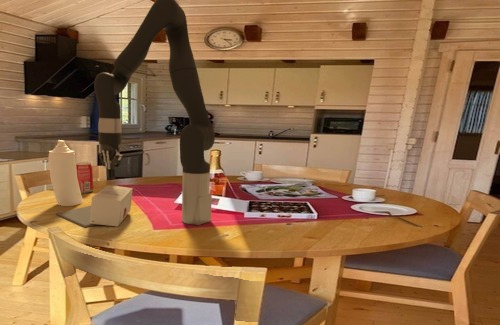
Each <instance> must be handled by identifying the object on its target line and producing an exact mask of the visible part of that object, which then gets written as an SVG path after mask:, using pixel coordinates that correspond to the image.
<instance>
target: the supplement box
mask: <svg viewBox="0 0 500 325" xmlns="http://www.w3.org/2000/svg"><path fill="white" fill-rule="evenodd" d="M133 190H134V189H133V188H132V187H126V186H117V185H111V184H110V185H109V184H108V185H106V186H105V187H103V188H102V189H101V190H99V191H98V192H97V193H96V194H94V195H93V196H92V197H91V205H90V206H91V214H90V223H91V224H98V225H101V226H102V225H103V226H108V227H109V226H110V227H117V228H118V227H119V225H120V224H121V223H122V222H123V221H124V220H125V217H127V216H128V214H130V211H131V208H132V207H131V206H132V200H133Z"/></svg>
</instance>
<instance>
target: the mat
mask: <svg viewBox="0 0 500 325" xmlns="http://www.w3.org/2000/svg"><path fill="white" fill-rule="evenodd" d="M56 214H57V215H56ZM90 214H91V205H88V206H84V207H77V208H72V209H68V210H63V211H59V212H58V211H57V212H55V215H56V216H58V215H59V216H58V217H60V216H61V217H60V218H63V219H66V220H67V221H70V222H72V223H74V224H77V225H79V226H81V227H82V228H89V227H93V226H97V225H99V224H91V223H90ZM126 217H127V216H126ZM126 217H125V218H126ZM125 218H124V219H125Z"/></svg>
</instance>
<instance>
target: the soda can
mask: <svg viewBox="0 0 500 325" xmlns="http://www.w3.org/2000/svg"><path fill="white" fill-rule="evenodd" d="M76 169H77V179H78V183H79V188H80V192H81V194H87V193H88V194H89V193H92V191H93V190H94V179H93V178H94V175H93V172H94V171H93V170H94V169H93V165H92V163H91V162H88V161H87V162H76Z"/></svg>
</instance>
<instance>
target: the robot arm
mask: <svg viewBox="0 0 500 325" xmlns="http://www.w3.org/2000/svg"><path fill="white" fill-rule="evenodd" d="M162 30H163V31H164V33H165V35H166V39H167V42H168V47H169V60H168V70H169V71H168V72H169V76H170V81H171V86H172V89H173V91H174V93H175V95H176V97H177V98H178V100H179V101H180V103H181V105H182V106H183V107H184V108H185V111H186V113H187V116H188V119H189V124H187V125H185V126H184V127H183V128H182V129H181V131H180V134H179V160H180V161H179V162H180V164H181V167H182V188H181V190H182V192H181V193H182V195H181V197H182V198H181V199H182V200H181V222H182V223H184V224H188V225H197V226H200V225H204V224H206V223H208V222H209V223H210V222H212V194H211V193H210V186H211V185H210V184H211V182H210V181H211V164H210V163H209V162H207V161H206V159H205V151H206V152H207V151H209V150H210V149H212V147H214V144H215V140H216V139H215V138H216V137H215V136H216V135H215V132H214V129H213V125H212V123H211V120H210V117H209V114H208V111H207V108H206V103H205V100H204V95H203V91H202V88H201V82H200V77H199V73H198V70H197V65H196V62H195V58H194V54H193V51H192V48H191V44H190V36H189V31H188V22H187V15H186V12H185V11H184V9H183V8H182V7H181V6H180V5H179V3H178V2H177V1H176V0H155V1H154V3H153V4H152V5H151V7H150V9H149V11H148V12H147V13H146V16H144V19H143V21H142V22H141V24H140V25H139V27H138V29H137V31H136V32H135V34H134V35H133V37H132V39H131V40H130V41H129V43H128V44H127V45H126V47H124V48H123V50H122V51H121V52H120V54H118V56H117V57H116V58H115V59H114V61H113V66H114V69H113V70H112V72H111V73H109V72H100V73H98V74H97V75H96V76H95V78H94V82H93V83H94V84H93V87H94V93H95V97H96V98H95V99H96V101H97V104H98V128H97V129H98V145H101V146H102V147H101V151H99V152H98V157H99V159H100V162H101V164H102V167H104V168H105V169H106V179H107V180H115V179H116V169H117V168H119V167H120V165H121V163H122V161H123V159H124V155H123V154H121V153H120V147H119V146H120V145H121V146H122V143H123V142H122V139H123V138H122V137H123V136H122V131H123V130H122V121H121V119H122V118H121V117H122V116H121V105H120V103H119V102H117V100H116V95H119V94H121V93H122V92H123V91H124V90H125V89H126V87H127V85H128V83H129V81H130V80H131V78H132V75H133V74H134V73H135V72H136V71H137V70H138V69H139V67H140V66H141V65H142V63H144V62H145V59H146V58H147V55H148V53H149V51H150V47H151V45H152V43H153V41H154V40H155V38H156V36H157V35H158V34H159V33H160V32H161V31H162Z"/></svg>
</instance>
